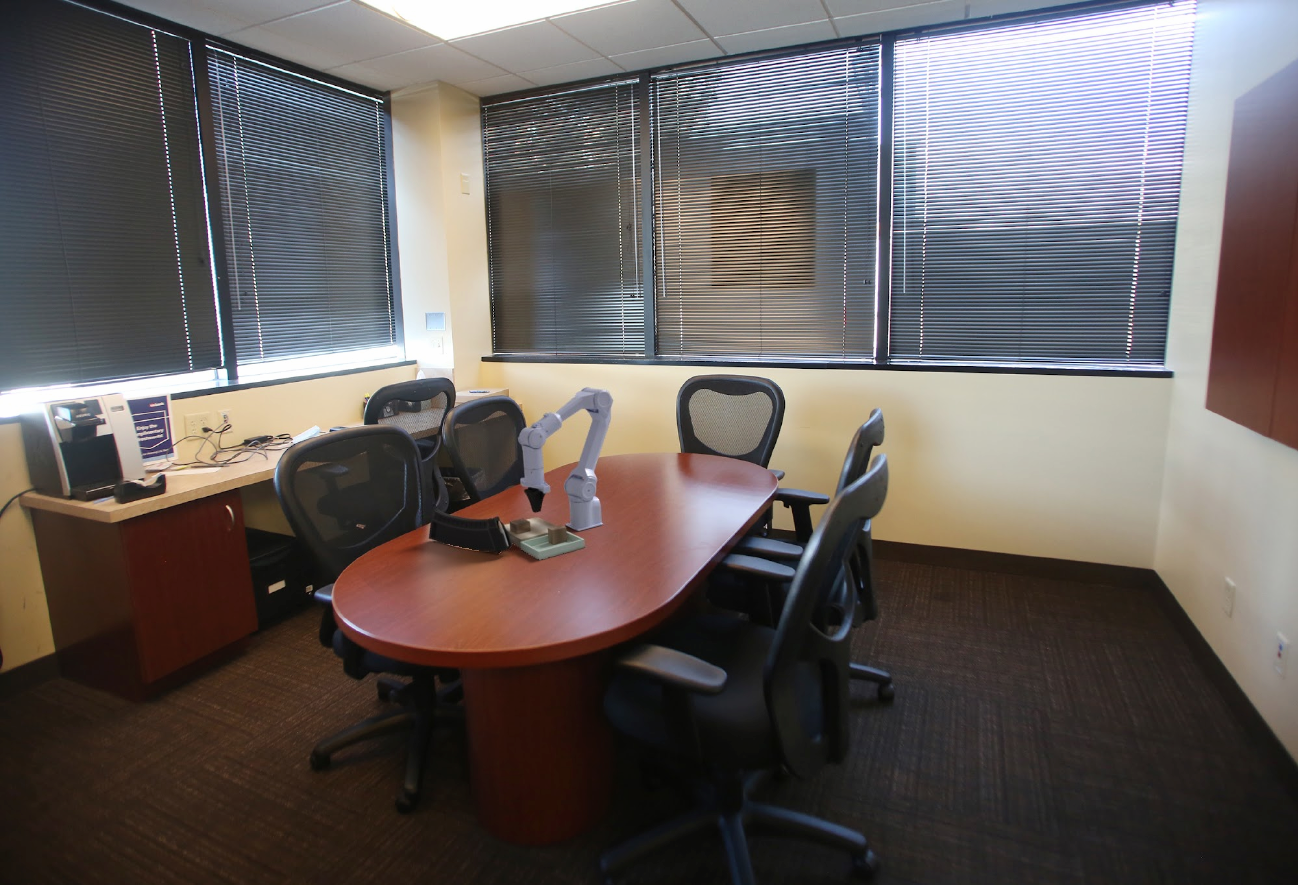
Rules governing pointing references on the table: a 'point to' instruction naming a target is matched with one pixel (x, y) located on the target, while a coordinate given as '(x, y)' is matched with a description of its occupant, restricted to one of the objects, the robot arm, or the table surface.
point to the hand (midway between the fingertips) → (536, 511)
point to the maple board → (537, 530)
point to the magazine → (469, 532)
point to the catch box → (551, 546)
